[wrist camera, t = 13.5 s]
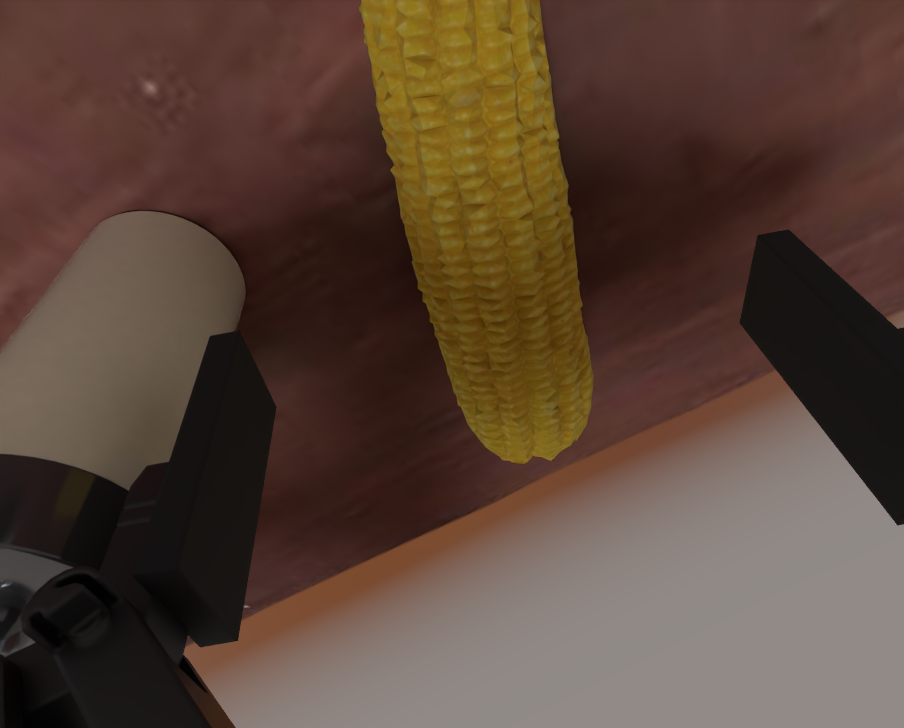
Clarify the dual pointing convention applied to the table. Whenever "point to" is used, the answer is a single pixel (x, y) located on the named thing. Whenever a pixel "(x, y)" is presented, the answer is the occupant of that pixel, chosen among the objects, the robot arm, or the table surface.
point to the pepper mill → (100, 391)
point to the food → (486, 212)
